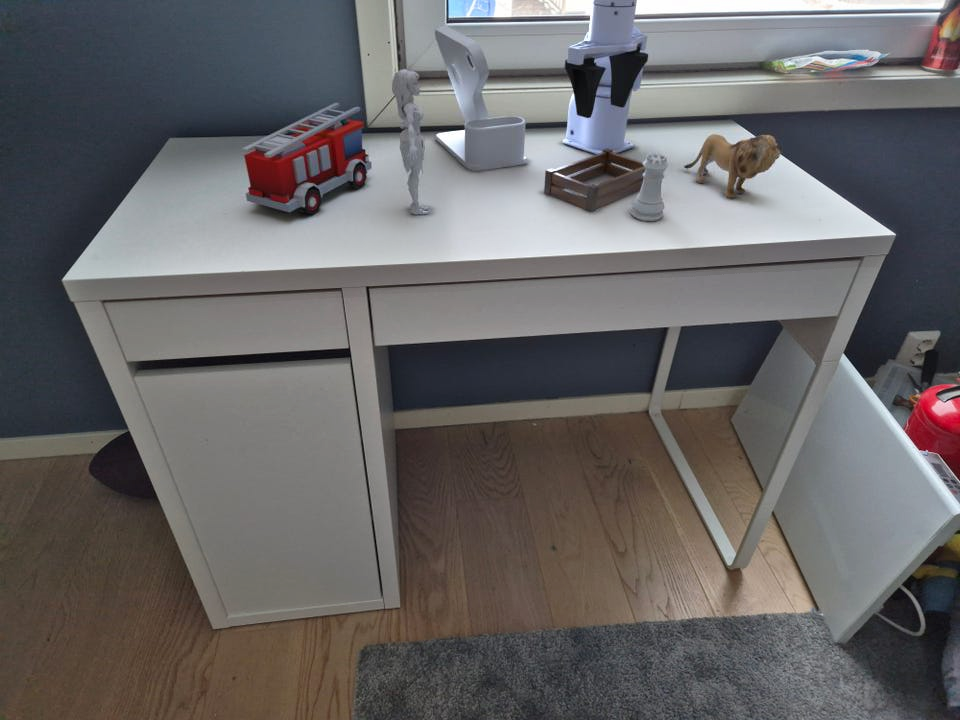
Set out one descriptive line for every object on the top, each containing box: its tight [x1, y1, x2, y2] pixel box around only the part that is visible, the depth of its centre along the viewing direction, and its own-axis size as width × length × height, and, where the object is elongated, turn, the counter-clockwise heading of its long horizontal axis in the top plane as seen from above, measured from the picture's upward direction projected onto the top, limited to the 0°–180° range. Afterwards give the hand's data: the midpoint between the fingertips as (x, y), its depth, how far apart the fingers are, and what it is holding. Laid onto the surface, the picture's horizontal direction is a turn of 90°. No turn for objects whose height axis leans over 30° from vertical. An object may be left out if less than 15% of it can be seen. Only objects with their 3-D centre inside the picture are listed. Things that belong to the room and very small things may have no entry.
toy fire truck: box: [241, 102, 373, 216], centre depth 90 cm, size 9×19×10 cm, turn 152°
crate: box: [543, 149, 645, 213], centre depth 94 cm, size 9×14×3 cm, turn 132°
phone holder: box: [434, 25, 527, 172], centre depth 103 cm, size 17×10×18 cm, turn 23°
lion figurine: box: [683, 133, 782, 199], centre depth 94 cm, size 15×5×9 cm, turn 33°
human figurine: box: [391, 68, 429, 215], centre depth 83 cm, size 12×4×18 cm, turn 10°
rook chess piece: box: [630, 153, 669, 222], centre depth 86 cm, size 4×4×8 cm
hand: (601, 111), depth 93 cm, fingers open, 7 cm apart
